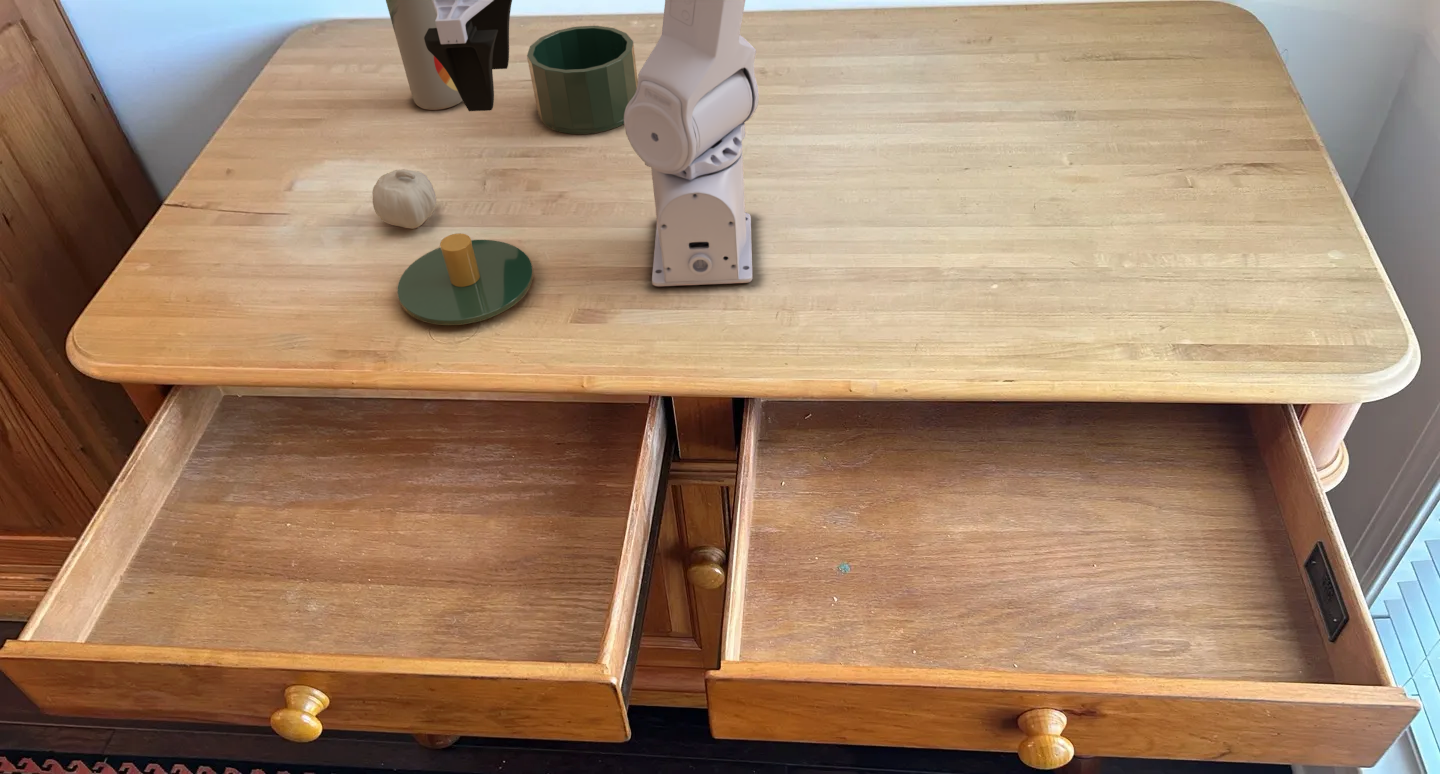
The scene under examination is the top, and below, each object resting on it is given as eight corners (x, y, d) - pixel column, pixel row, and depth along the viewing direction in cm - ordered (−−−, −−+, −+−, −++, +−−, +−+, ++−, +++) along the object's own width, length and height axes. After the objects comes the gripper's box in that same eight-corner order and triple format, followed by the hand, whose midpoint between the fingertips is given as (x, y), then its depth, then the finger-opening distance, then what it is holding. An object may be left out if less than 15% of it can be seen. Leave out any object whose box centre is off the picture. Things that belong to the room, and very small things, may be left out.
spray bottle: (479, 89, 111) (433, -111, 98) (447, 114, 107) (395, -90, 94) (435, 82, 113) (384, -116, 100) (402, 106, 109) (345, -96, 96)
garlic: (455, 220, 93) (442, 168, 89) (402, 246, 90) (385, 193, 87) (420, 195, 96) (405, 144, 93) (367, 220, 94) (350, 168, 90)
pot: (636, 131, 103) (628, 69, 98) (532, 136, 103) (520, 74, 99) (642, 83, 110) (635, 23, 106) (545, 88, 111) (535, 28, 106)
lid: (524, 328, 81) (513, 280, 78) (386, 334, 81) (369, 286, 78) (542, 247, 89) (533, 200, 86) (416, 252, 89) (402, 206, 86)
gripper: (424, -102, 88) (460, 52, 97) (380, -36, 77) (425, 130, 86) (507, -107, 88) (535, 49, 97) (474, -41, 77) (509, 127, 86)
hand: (488, 87), depth 92 cm, fingers open, 7 cm apart
